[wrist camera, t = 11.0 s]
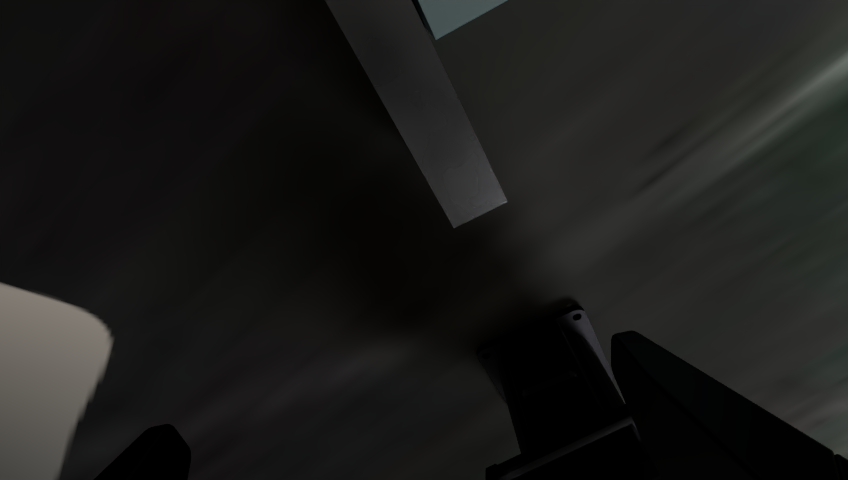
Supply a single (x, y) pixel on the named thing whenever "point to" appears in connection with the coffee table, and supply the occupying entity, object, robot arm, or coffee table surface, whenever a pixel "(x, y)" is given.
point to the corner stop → (421, 103)
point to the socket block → (451, 13)
